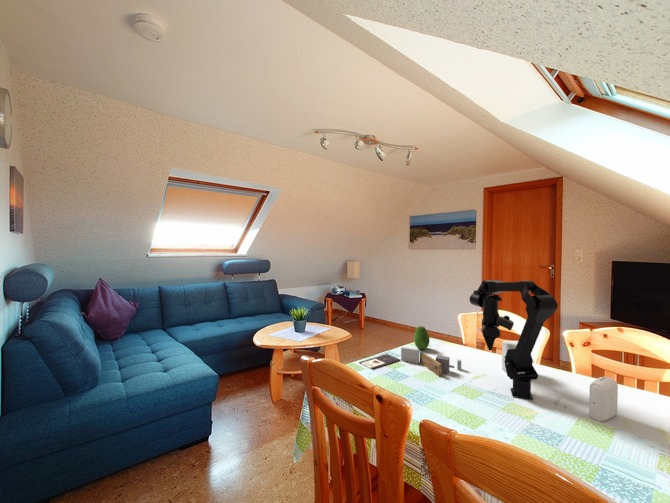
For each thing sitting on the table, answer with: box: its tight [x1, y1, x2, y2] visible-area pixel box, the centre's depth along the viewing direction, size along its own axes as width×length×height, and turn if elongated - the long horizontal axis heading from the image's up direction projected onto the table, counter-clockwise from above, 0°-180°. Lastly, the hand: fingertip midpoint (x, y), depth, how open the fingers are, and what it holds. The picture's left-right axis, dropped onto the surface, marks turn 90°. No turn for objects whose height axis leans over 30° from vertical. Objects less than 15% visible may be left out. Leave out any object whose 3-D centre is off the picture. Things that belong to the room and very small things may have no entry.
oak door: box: [419, 350, 443, 377], centre depth 135 cm, size 2×15×5 cm, turn 16°
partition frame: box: [400, 346, 462, 371], centre depth 140 cm, size 2×26×6 cm, turn 66°
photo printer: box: [588, 376, 619, 422], centre depth 99 cm, size 10×4×12 cm, turn 116°
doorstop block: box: [435, 354, 451, 375], centre depth 133 cm, size 4×5×6 cm
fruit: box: [413, 325, 430, 350], centre depth 161 cm, size 8×8×12 cm
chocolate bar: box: [358, 353, 401, 371], centre depth 143 cm, size 9×1×18 cm
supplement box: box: [501, 340, 525, 374], centre depth 132 cm, size 7×7×13 cm
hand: (489, 346), depth 129 cm, fingers open, 9 cm apart
